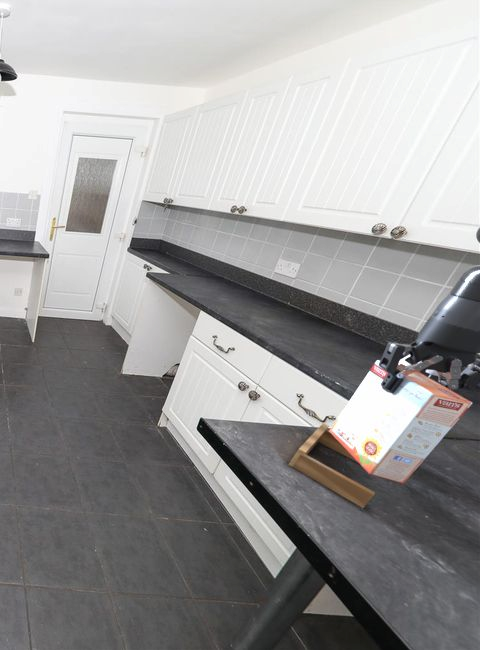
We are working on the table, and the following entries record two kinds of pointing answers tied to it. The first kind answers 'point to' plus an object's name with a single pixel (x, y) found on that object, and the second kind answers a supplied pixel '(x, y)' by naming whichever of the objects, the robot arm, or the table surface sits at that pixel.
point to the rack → (325, 473)
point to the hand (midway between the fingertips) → (408, 395)
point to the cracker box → (396, 423)
